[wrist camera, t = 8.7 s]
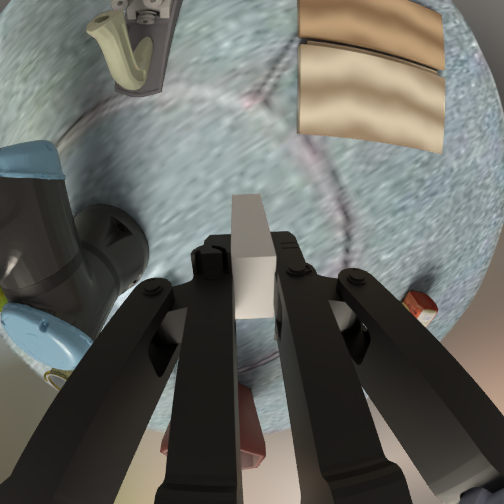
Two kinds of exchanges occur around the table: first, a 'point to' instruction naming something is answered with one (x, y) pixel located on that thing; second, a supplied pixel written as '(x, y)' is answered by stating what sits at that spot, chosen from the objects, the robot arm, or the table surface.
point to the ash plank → (369, 97)
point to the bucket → (242, 431)
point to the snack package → (420, 306)
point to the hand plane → (136, 43)
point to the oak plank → (376, 27)
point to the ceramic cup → (57, 377)
